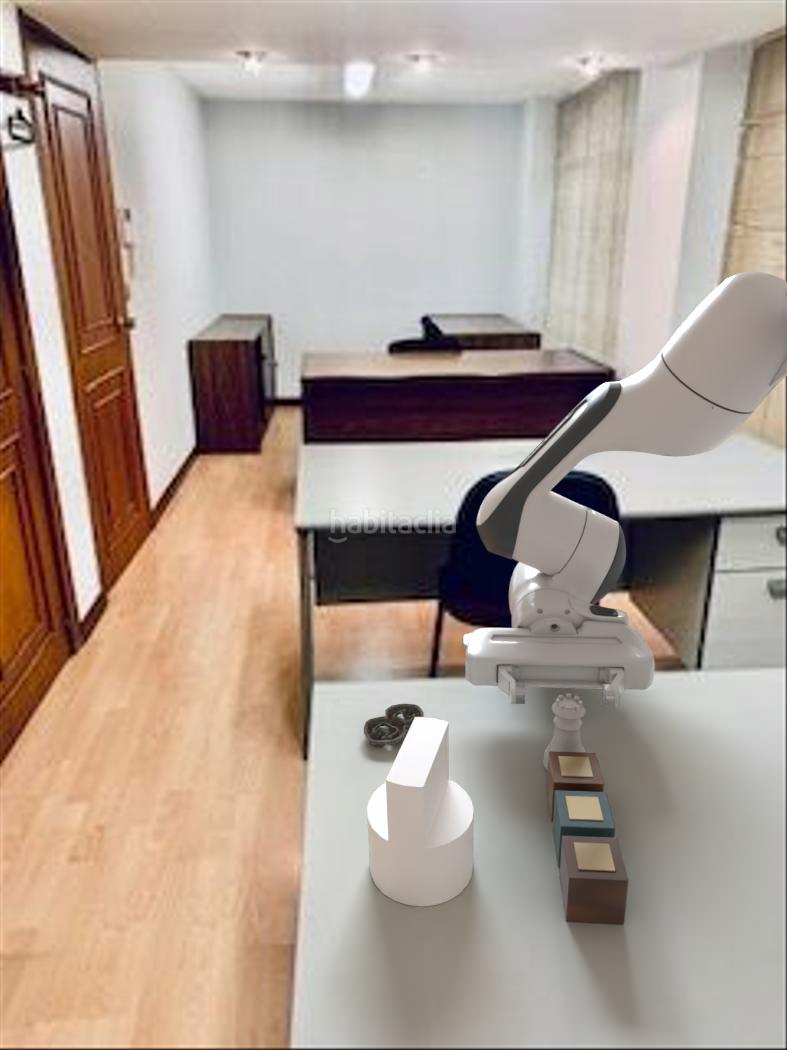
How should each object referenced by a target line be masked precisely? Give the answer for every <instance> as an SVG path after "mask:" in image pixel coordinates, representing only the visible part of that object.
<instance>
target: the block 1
mask: <svg viewBox="0 0 787 1050" xmlns="http://www.w3.org/2000/svg"><path fill="white" fill-rule="evenodd" d="M546 771H547V773H546V795H547V802H548V809H549V815H550V821H551V823H553V814H554V796H555V790H559V791H588V792H604V791H605V790H604V788H605V782H604V778H603V775H602V771H601V766H600V763H599V758H598V755H597V753H596V752H587V751H585V752H555V751H549V752H548V770H546Z"/></svg>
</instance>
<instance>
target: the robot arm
mask: <svg viewBox="0 0 787 1050" xmlns="http://www.w3.org/2000/svg"><path fill="white" fill-rule="evenodd" d="M786 377H787V281H786V280H784V279H783V278H781V277H779V276H777V275H774V274H771V273H766V272H761V271H743V272H738V273H736V274H734V275H732V276H731V275H730V277H728V278H726V279H725V280H724V281H723V282H722V283H720V284H719V285H718V286H717V287H716V288H715V289H714V290H713V291H711V293H710V294H708V296H707V297H705V299H704V300H703V301H702V302H701V303H700V304H699V305H697V307H696V308H695V309H694V310H693V311H692V313H691V314H690V315H689V316H688V317H687V318H686V319H685V320H684V321H683V323H682V324H681V326H679V327H678V329H677V330H676V331H675V333H674V334H673V335H672V336H671V338H670V339H669V341H668V342H667V343H666V345H664V347H663V348H662V350H661V351H660V352H659V354H658V355H657V356H656V358H654V360H653V361H651V362H650V363H649V364H648V365H646V366H645V367H644V368H643V369H641V370H640V371H638V372H636V373H635V374H633V375H630V376H629V377H626V378H625V379H622V380H620V381H608V382H607V381H606V382H604V383H602V384H600V385H598V386H597V387H596V388H595V389H593V390H592V391H591V392H590V393H588V394H587V395H586V396H585V397H584V398H583V399H582V400H581V401H580V402H579V403H578V404H577V405H576V406H574V408H573V409H572V410H571V411H570V412H569V413H568V414H566V416H565V417H563V419H562V420H561V421H560V422H559V423H558V424H557V425H556V426H555V427H554V428H553V429H552V430H551V431H550V432H549V433H548V434H547V436H546V437H544V438H543V440H542V441H541V442H540V443H539V444H538V445H536V447H535V448H534V449H533V450H532V451H531V452H530V453H529V454H528V455H527V456H526V458H524V459H523V461H522V462H520V464H519V465H518V466H516V467H515V468H514V469H513V470H511V472H509V473H508V474H507V475H506V476H504V477H503V478H501V479H500V481H498V482H497V483H496V484H495V485H494V487H492V488H491V490H490V491H489V492H488V493H487V494H486V495H485V497H484V499H483V500H482V503H481V505H480V506H479V509H478V513H477V516H476V519H475V520H476V521H475V526H476V530H477V532H478V536H479V537H480V540H481V542H482V544H483V545H484V547H485V549H486V550H487V552H489V553H492V554H494V555H497V556H500V557H503V558H505V559H508V560H514V561H516V562H517V564H516V566H515V567H514V569H513V572H512V575H511V577H510V581H509V587H508V588H509V589H508V606H509V612H510V615H511V620H510V621H511V627H480V628H477V629H475V630H473V631H472V632H470V633H465V634H463V638H462V640H461V641H462V645H461V646H462V648H463V650H464V651H465V664H464V666H465V672H464V673H465V675H464V676H465V680H466V681H467V682H468V683H470V684H471V685H472V686H476V687H480V686H481V687H484V686H485V687H498V689H499V690H500V691H502V692H503V693H504V694H505V695H507V696H508V697H509V704H510V705H526V688H553V689H554V688H555V689H556V688H557V689H594V690H595V689H596V690H602V692H601V702H602V703H603V707H609V708H610V707H611V708H613V707H614V708H619V707H620V701H621V694H622V693H623V692H624V690H634V691H636V690H637V691H646V690H648V688H650V687H651V686H652V685H653V682H654V676H655V665H656V663H655V657H654V654H653V652H652V650H651V647H650V646H649V644H648V643H647V641H646V640H645V637H644V636H643V635H642V634H641V632H640V631H639V630H637V629H636V628H635V627H633V626H631V625H629V615H628V614H627V612H626V611H624V610H622V609H618V608H612V607H606V606H601V605H596V604H597V603H598V602H600V601H602V599H604V598H605V597H606V596H607V595H608V594H609V593H610V592H611V590H612V589H613V588H614V586H615V585H616V583H617V582H618V580H619V578H620V576H621V575H622V573H623V570H624V568H625V564H626V560H627V559H626V558H627V548H626V547H627V545H626V539H625V535H624V531H623V529H622V527H621V526H622V525H620V523H619V522H618V520H614V519H613V518H611V517H609V516H606V515H605V514H602V513H600V512H598V511H596V510H594V509H593V508H590V507H588V506H586V505H582V504H580V503H578V502H575V501H573V500H571V499H569V498H567V497H565V496H562V495H561V494H559V493H557V492H554V491H552V490H553V489H554V488H555V486H557V485H558V484H559V483H560V482H561V481H562V480H563V479H564V478H565V477H566V476H567V475H568V474H569V473H570V472H571V471H572V470H573V469H574V468H575V467H576V466H577V465H578V464H579V463H581V462H582V461H583V460H584V459H585V458H588V457H589V456H593V455H595V454H599V453H604V452H634V453H643V454H644V453H645V454H651V455H657V456H662V457H673V458H675V457H690V456H696V455H700V454H704V453H707V452H710V451H713V450H715V449H716V448H718V447H720V446H721V445H723V444H724V443H725V442H726V441H728V440H729V439H730V438H731V437H732V436H733V435H734V434H735V433H736V432H737V431H738V430H739V429H741V427H742V426H743V425H744V424H745V423H746V421H747V420H748V419H749V418H750V417H751V416H752V414H753V413H754V412H755V411H756V410H757V409H758V408H759V406H760V405H761V404H762V403H763V401H764V400H765V399H766V398H767V397H768V396H769V394H770V393H771V392H772V391H773V390H774V388H775V387H776V386H777V385H779V384H780V383H781V382H782V381H783V380H784V379H785V378H786Z"/></svg>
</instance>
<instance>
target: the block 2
mask: <svg viewBox="0 0 787 1050" xmlns="http://www.w3.org/2000/svg"><path fill="white" fill-rule="evenodd" d="M559 884H560V889H561V891H560V892H561V896H562V897H561V898H562V904H563V909H564V910H563V912H564V917H565V922H567V923H569V922H570V923H585V924H587V923H589V924H604V925H605V924H606V925H624V924H625V917H626V911H627V909H626V908H627V899H628V888H629V877H628V873H627V870H626V865H625V861H624V857H623V853H622V850H621V845H620V842H619V838H618V837H614V838H612V837H587V836H562V845H561V861H560V868H559Z"/></svg>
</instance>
